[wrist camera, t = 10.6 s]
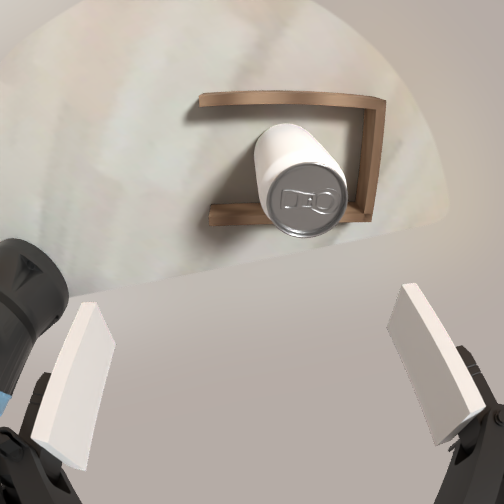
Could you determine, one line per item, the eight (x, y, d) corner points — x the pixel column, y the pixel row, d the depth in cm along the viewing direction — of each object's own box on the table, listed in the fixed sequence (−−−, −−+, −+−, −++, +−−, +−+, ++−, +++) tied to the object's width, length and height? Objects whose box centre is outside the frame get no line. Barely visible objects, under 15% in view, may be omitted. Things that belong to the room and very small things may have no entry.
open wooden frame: (211, 212, 34) (209, 226, 32) (202, 93, 27) (198, 96, 24) (362, 209, 34) (371, 221, 32) (374, 96, 27) (386, 100, 24)
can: (313, 183, 32) (345, 244, 22) (252, 181, 32) (257, 242, 22) (319, 124, 29) (361, 160, 19) (254, 120, 29) (262, 153, 19)
